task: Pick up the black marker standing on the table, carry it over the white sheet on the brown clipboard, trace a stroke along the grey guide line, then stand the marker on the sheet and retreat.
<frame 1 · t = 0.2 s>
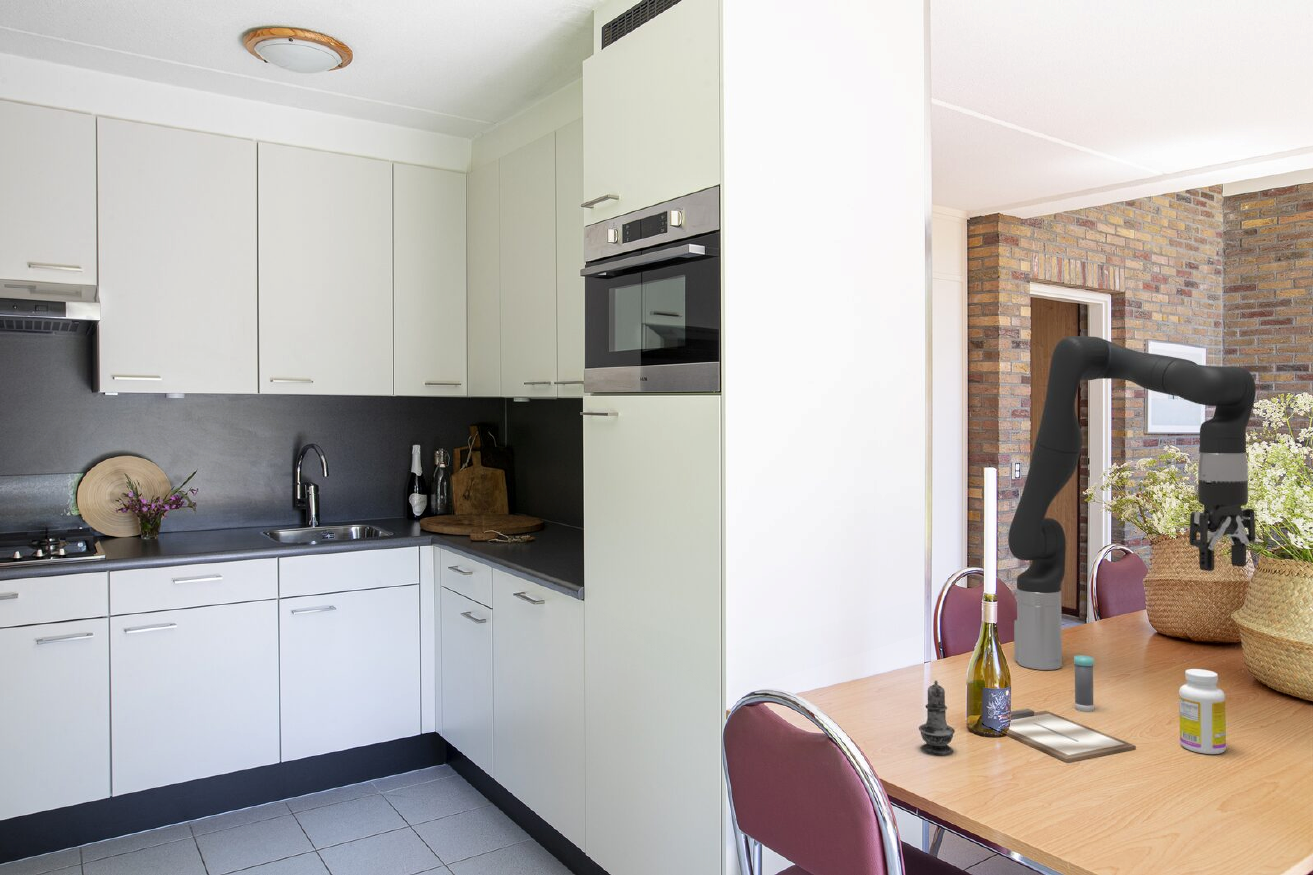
hand: (1222, 568, 159), 29 cm above the table, tool pointing down, fingers open, 8 cm apart
clipboard: (1055, 736, 157), on the table
salt shaker: (936, 751, 152), on the table
supplement bottle: (1202, 749, 150), on the table
marker: (1084, 709, 171), on the table
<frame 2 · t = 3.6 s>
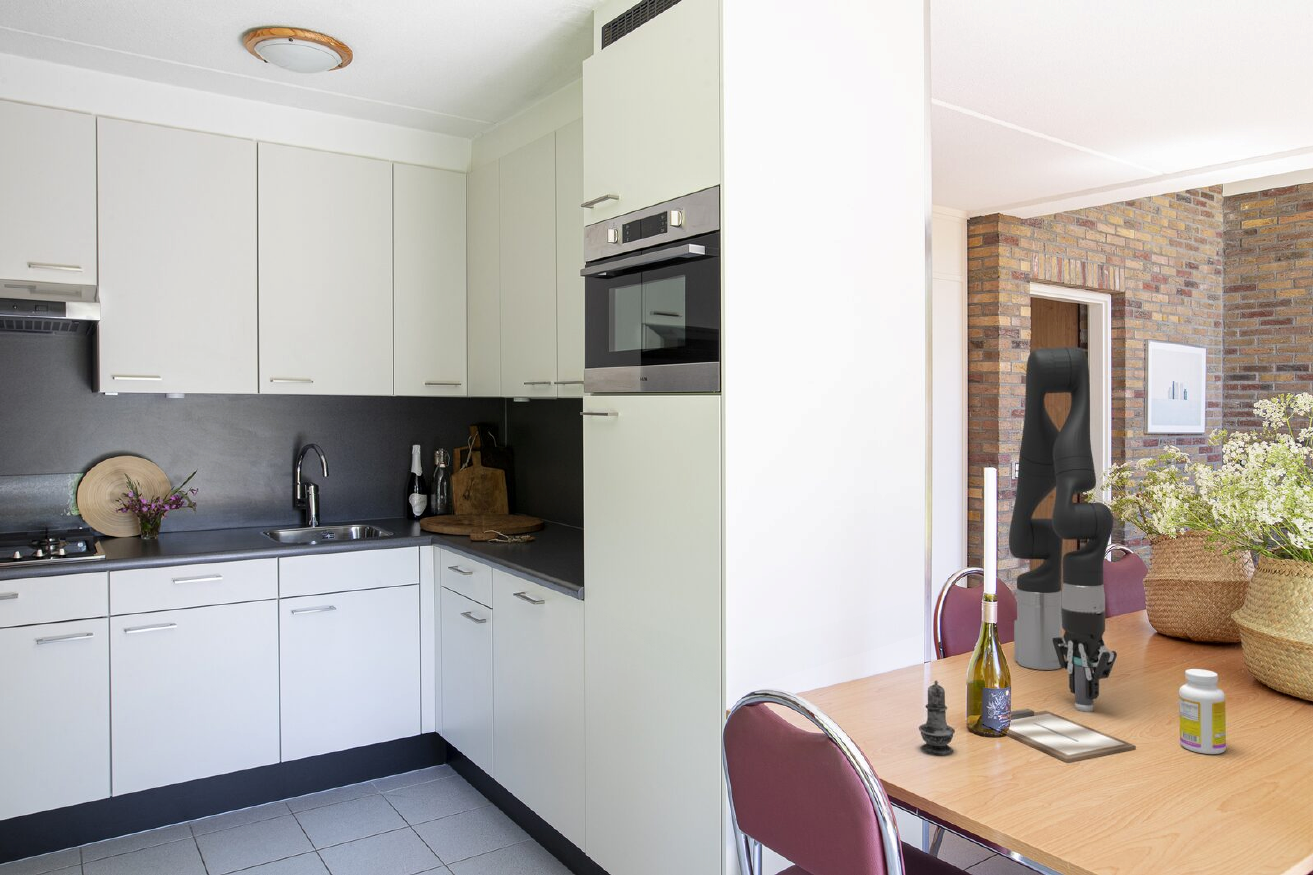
hand: (1084, 695, 171), 3 cm above the table, tool pointing down, fingers closed on marker, 3 cm apart
marker: (1084, 709, 171), on the table, touching gripper
everything else where it was.
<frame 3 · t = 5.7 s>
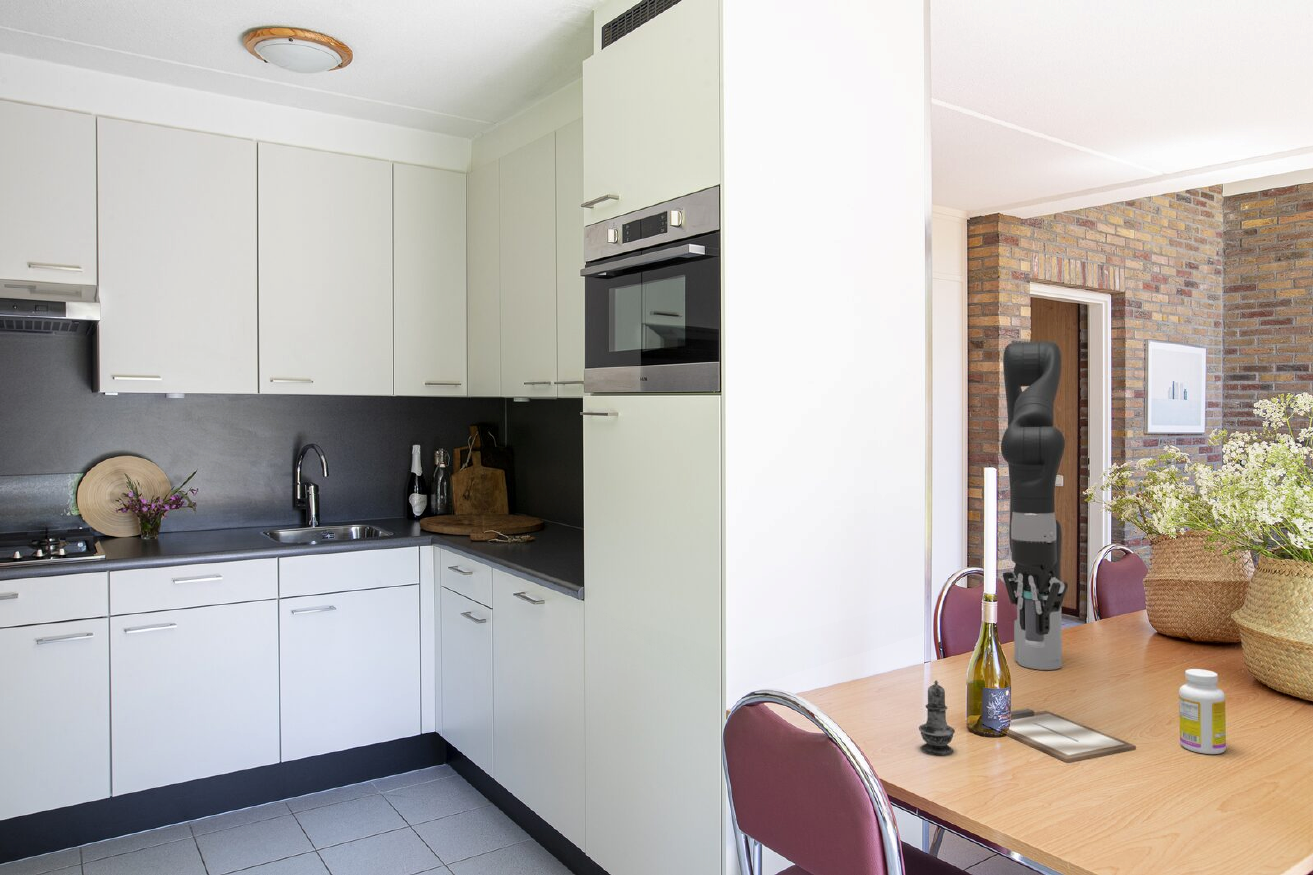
hand: (1034, 631, 161), 18 cm above the table, tool pointing down, fingers closed on marker, 3 cm apart
marker: (1034, 646, 161), point 15 cm above the table, touching gripper
everything else where it was.
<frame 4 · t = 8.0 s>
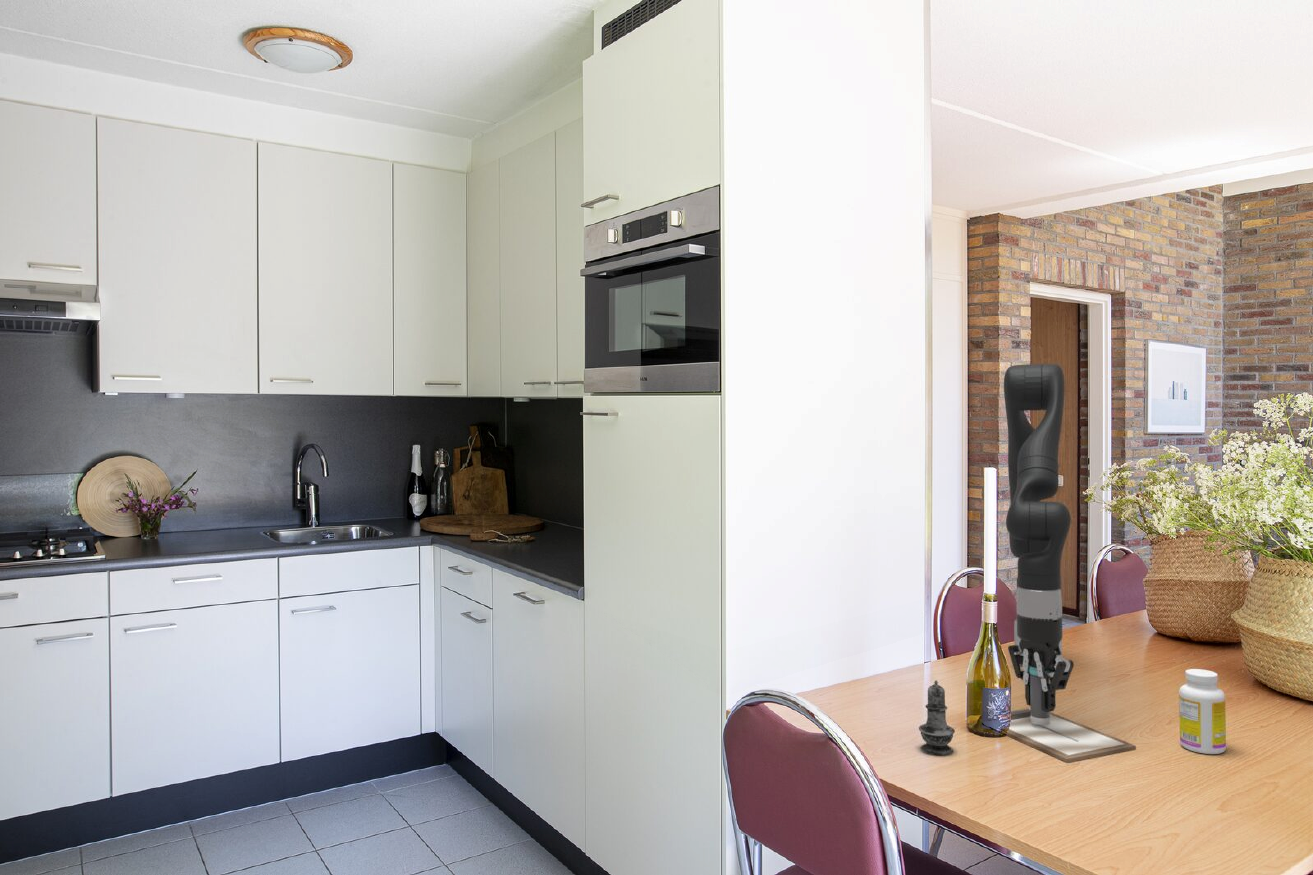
hand: (1040, 707, 160), 4 cm above the table, tool pointing down, fingers closed on marker, 3 cm apart
marker: (1040, 722, 160), point 1 cm above the table, touching gripper
everything else where it was.
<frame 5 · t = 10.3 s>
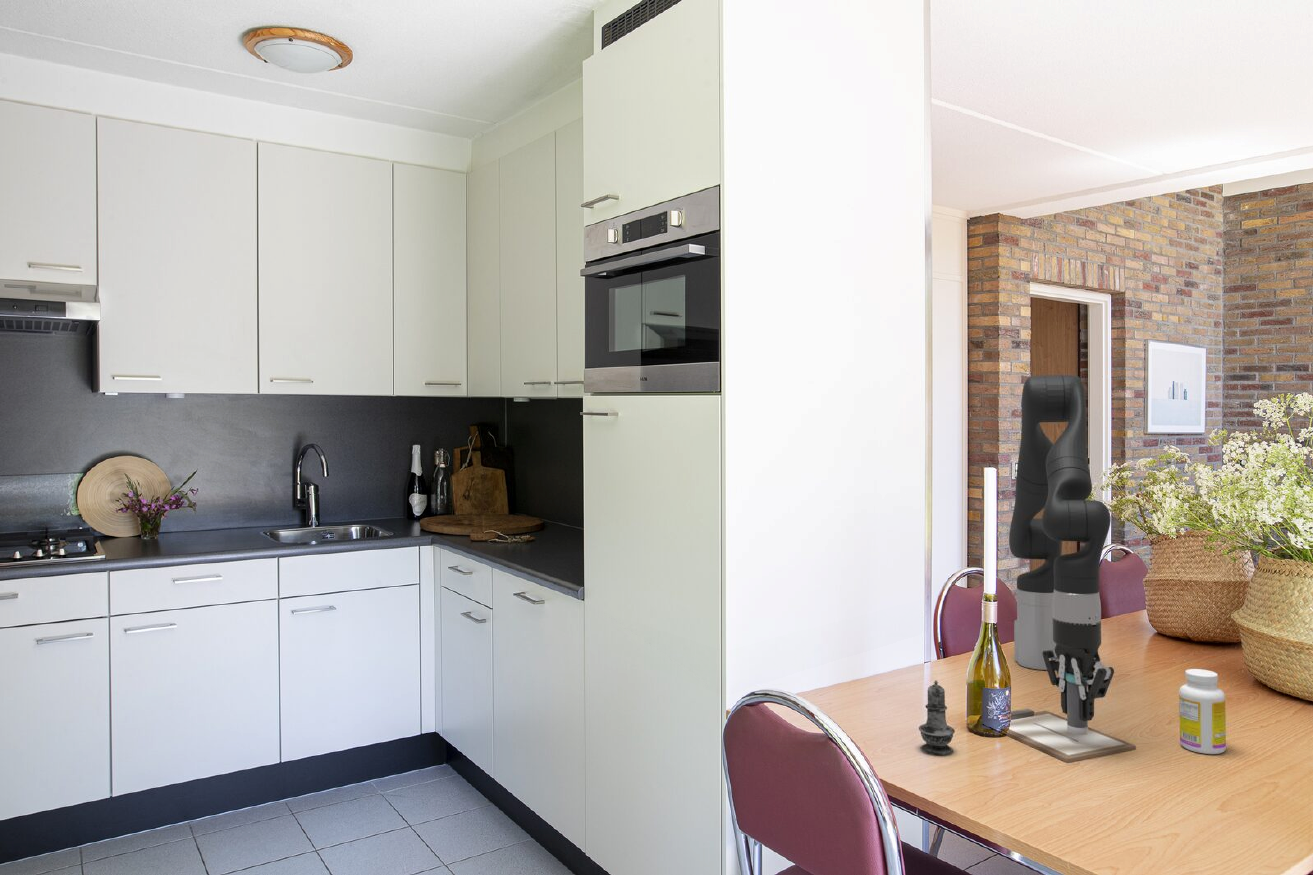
hand: (1077, 716, 152), 5 cm above the table, tool pointing down, fingers closed on marker, 3 cm apart
marker: (1077, 731, 152), point 2 cm above the table, touching gripper
everything else where it was.
when the fingers open (4 cm above the table, at t = 12.4 s): marker stays where it is, resting on clipboard.
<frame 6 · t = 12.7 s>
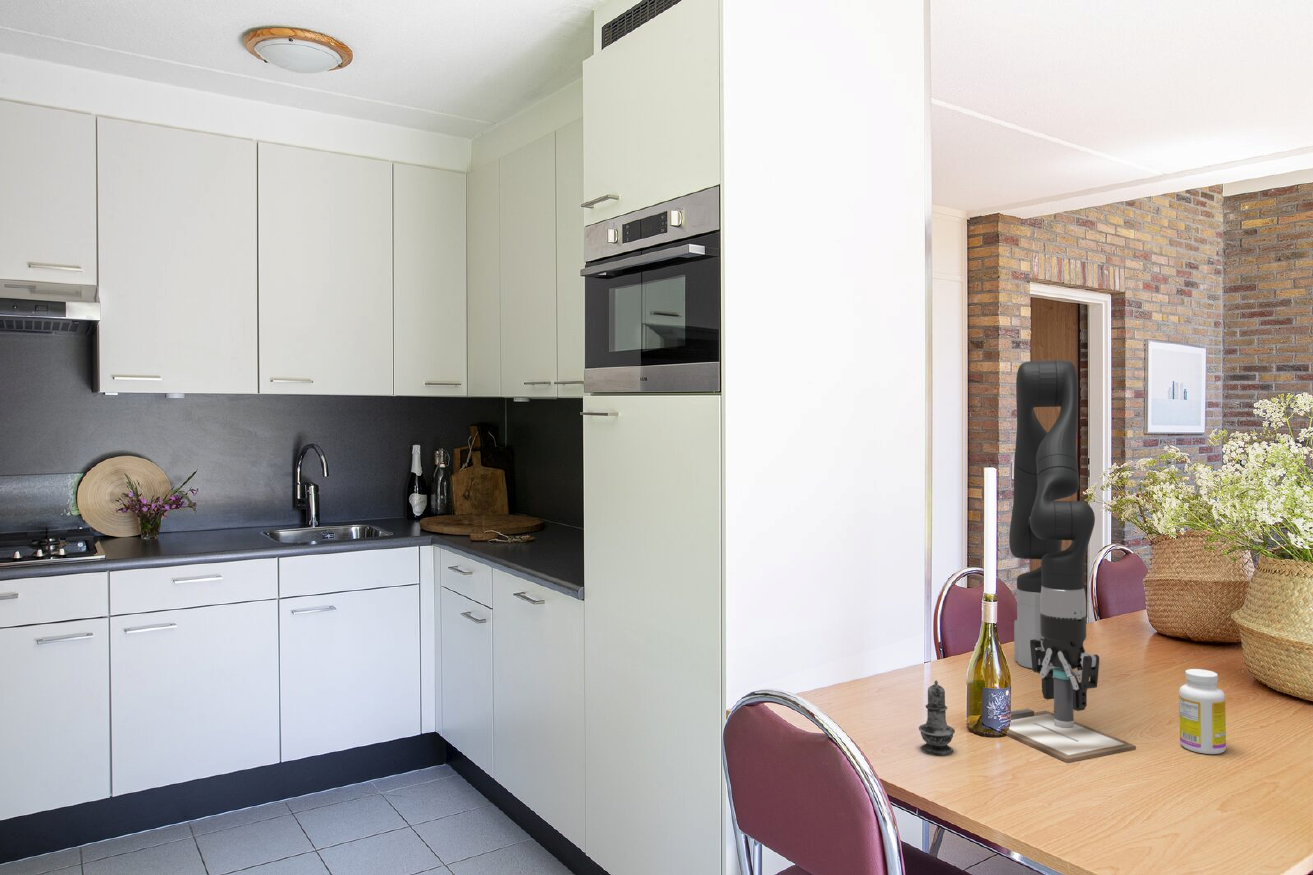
hand: (1063, 703, 160), 5 cm above the table, tool pointing down, fingers open, 6 cm apart
marker: (1063, 725, 160), point 1 cm above the table, touching clipboard
everything else where it was.
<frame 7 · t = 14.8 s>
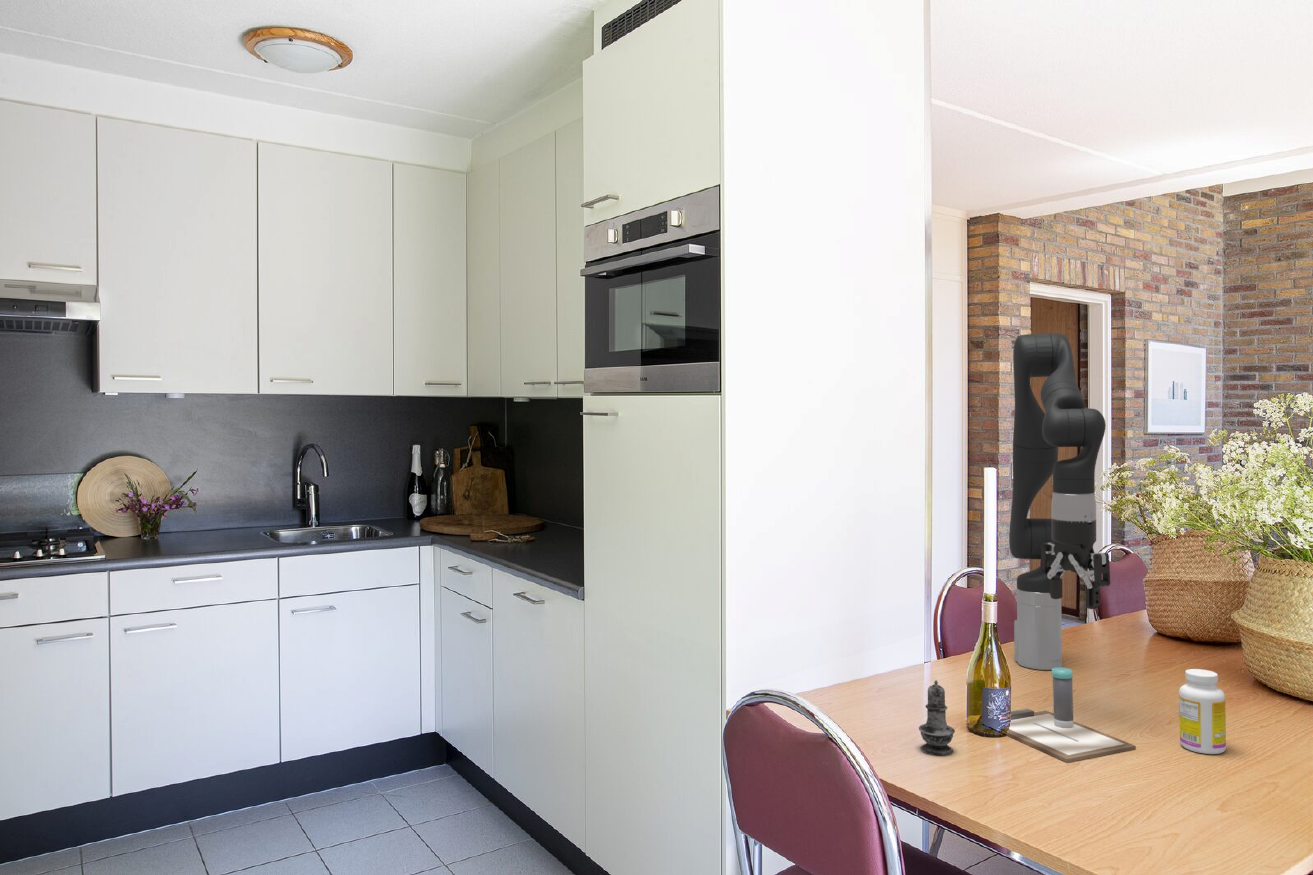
hand: (1074, 603, 165), 22 cm above the table, tool pointing down, fingers open, 8 cm apart
nothing on the table moved.
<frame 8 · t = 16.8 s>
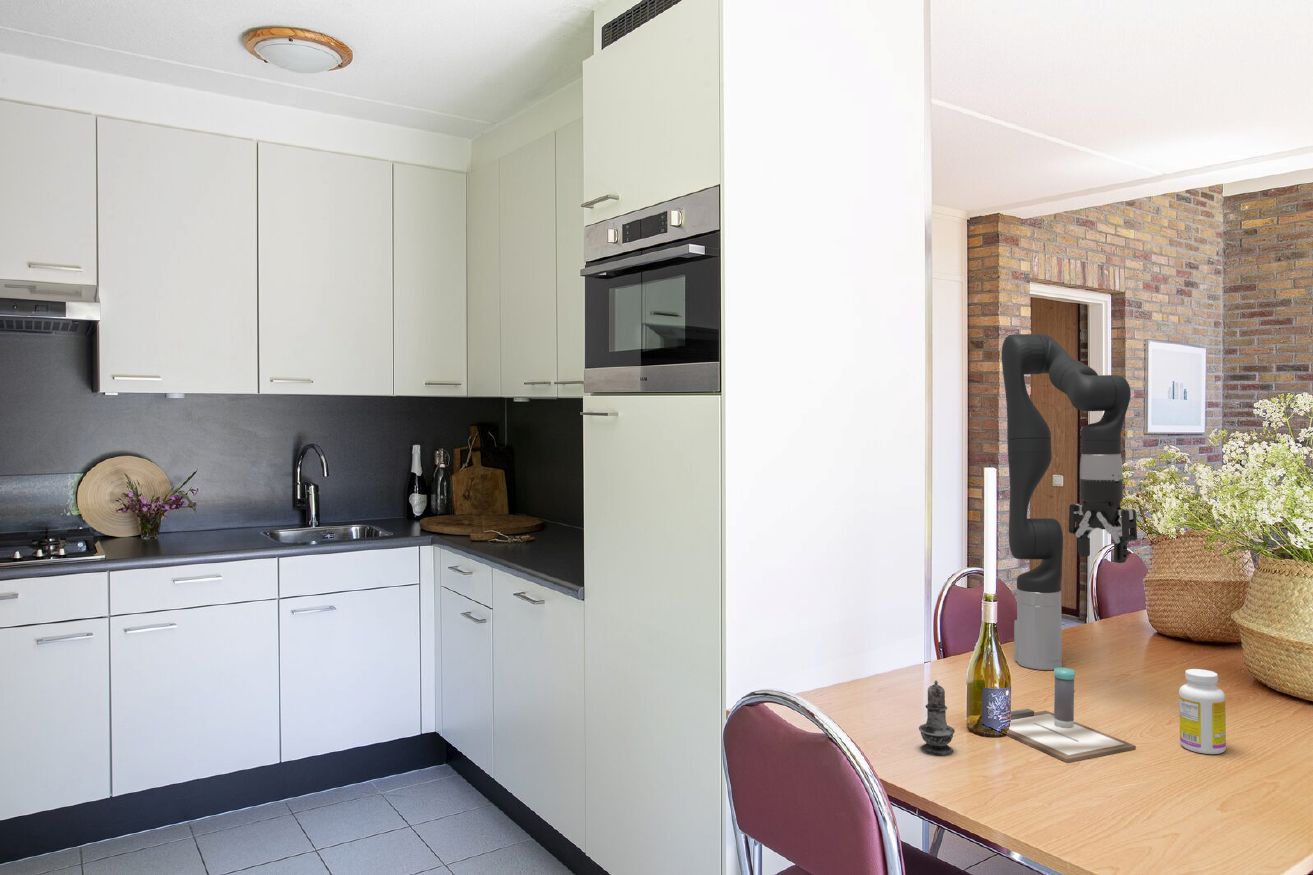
hand: (1101, 559, 175), 28 cm above the table, tool pointing down, fingers open, 8 cm apart
nothing on the table moved.
at the end: marker inside the target area on the clipboard (4.5 cm from its centre), point 0.8 cm above the clipboard's base; the gripper is holding nothing; marker moved 13.9 cm from its start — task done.
